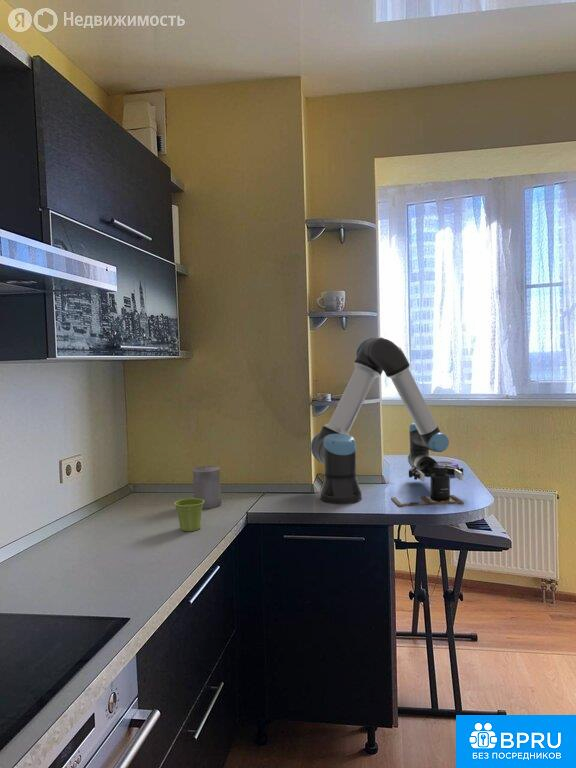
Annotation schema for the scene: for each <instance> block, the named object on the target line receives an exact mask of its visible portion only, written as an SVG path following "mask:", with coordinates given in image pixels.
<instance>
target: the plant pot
mask: <svg viewBox="0 0 576 768" xmlns="http://www.w3.org/2000/svg"><path fill="white" fill-rule="evenodd" d="M203 503H204V500H202V499H195V498H184V499H183V498H182V499H179V500H176V501H174V504H173V505H175V508H176V510H177V516H178V521H179V528H180V530H181V531H183V532H184V531H185V532H195V531H197V530H199V529H200V528H201V524H202V511H203V509H202V507H203ZM200 530H201V529H200Z"/></svg>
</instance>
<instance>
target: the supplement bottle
mask: <svg viewBox="0 0 576 768" xmlns="http://www.w3.org/2000/svg"><path fill="white" fill-rule="evenodd" d="M433 472H434V473H433V474H431V476H430V477H429V478H430V488H429V490H430V491H429V492H430V494H429V497H431V499H432V500H433V501H439V502H441V501H449V500H450V495H451V477H450V476H449V475H448V474H447V473H446V472H447V467H446V466H433Z"/></svg>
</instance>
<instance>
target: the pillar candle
mask: <svg viewBox="0 0 576 768" xmlns="http://www.w3.org/2000/svg"><path fill="white" fill-rule="evenodd" d="M220 470H221V469H220V467H219V466H217V465H207V464H206V465H202V466H197V467H194V468H193V469H192V472H193V473H192V474H193V475H192V476H193V477H192V478H193V494H194V495H193V496H194V498H195V499H202V500H204V503H203V507H202V510H206V509H215V508H218V507H220V506H221V505H222V491H221V489H222V488H221V474H220V473H221V471H220ZM194 498H193V499H194Z"/></svg>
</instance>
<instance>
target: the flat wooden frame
mask: <svg viewBox="0 0 576 768" xmlns="http://www.w3.org/2000/svg"><path fill="white" fill-rule="evenodd" d="M419 499H420V500H421V501H423V502H419V501H412V502H410V501H409V502H408V503H401V501H400V500H399V499H398V498H397V497H393V496H392V497H391V500H392V502H393V503H394V504H395V505H396V506H397V507H398V508H403V507H410V506H411V507H412V506H413V507H414V506H431V505H432V506H434V505H435V506H436V505H437V506H438V505H454V504H457V505H464V504H465V503H464V501H463V500H461V499H459V498H458V497H457V496H456V495H454V494H450V500H449V501H441V502H439V501H433V500H432V499H431V496H425V495H420V496H419ZM407 505H408V506H407Z"/></svg>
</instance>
